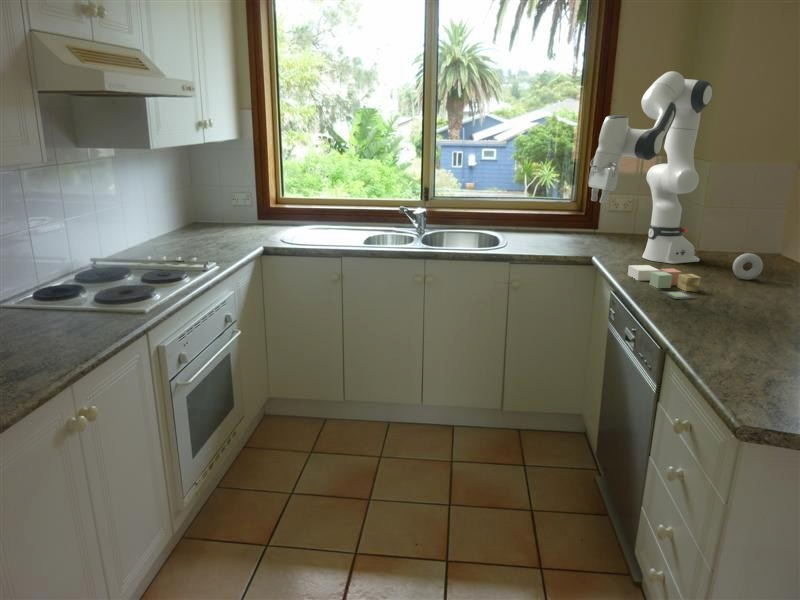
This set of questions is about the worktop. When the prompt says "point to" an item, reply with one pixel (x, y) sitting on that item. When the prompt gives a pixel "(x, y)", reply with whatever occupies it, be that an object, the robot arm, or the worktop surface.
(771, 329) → the worktop surface
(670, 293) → the tile
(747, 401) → the worktop surface
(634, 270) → the base block
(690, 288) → the ochre cube
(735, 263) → the donut
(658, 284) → the sage cube
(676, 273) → the terracotta cube
